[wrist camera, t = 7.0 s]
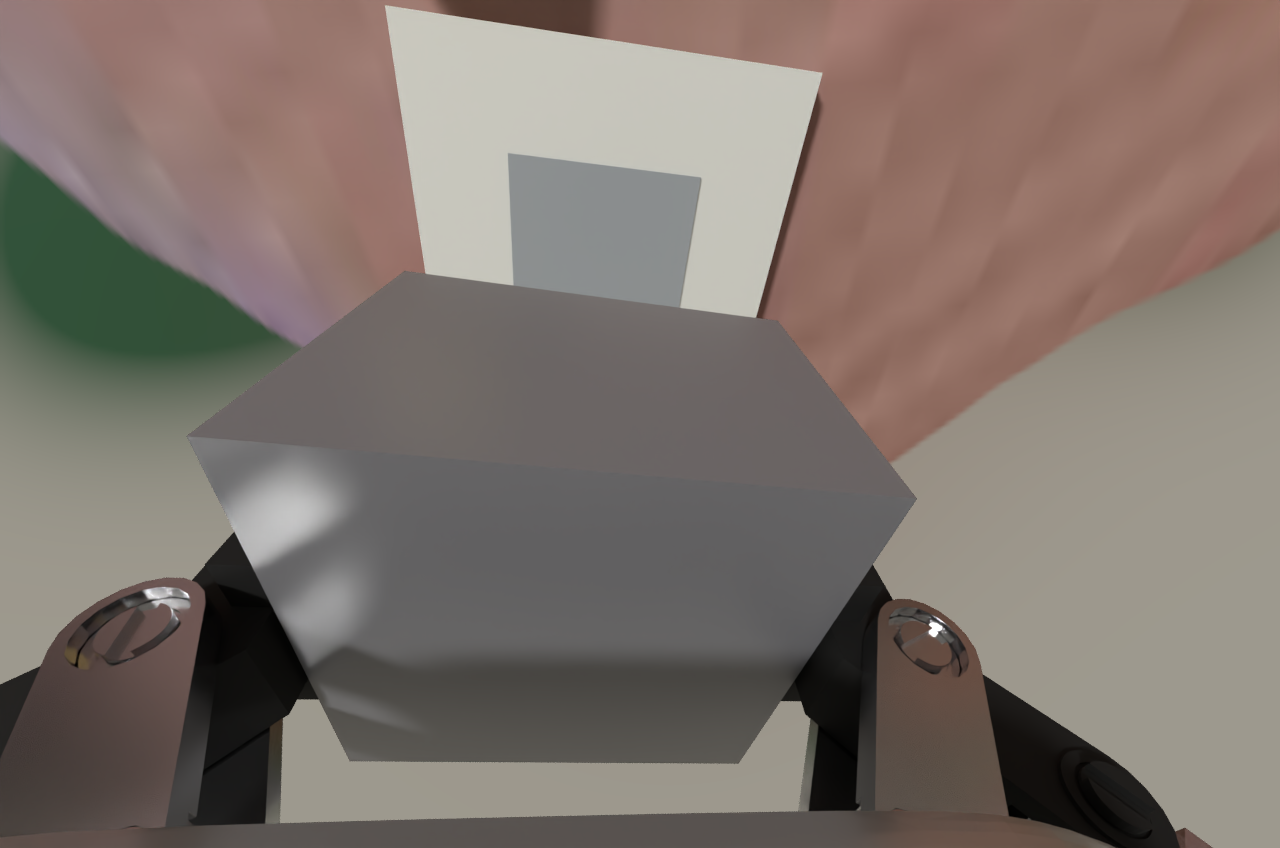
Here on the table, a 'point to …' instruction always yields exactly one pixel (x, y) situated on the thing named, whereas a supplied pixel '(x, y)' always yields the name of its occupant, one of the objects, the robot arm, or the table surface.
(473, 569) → the charcoal brick
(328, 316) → the table surface
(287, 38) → the table surface
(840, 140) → the table surface
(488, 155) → the base plate
